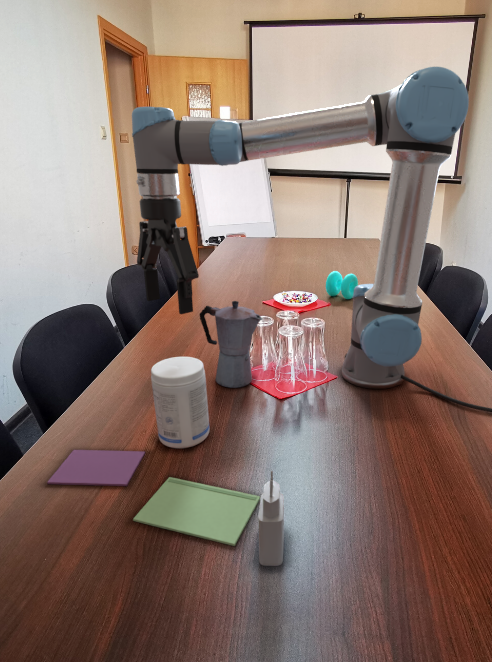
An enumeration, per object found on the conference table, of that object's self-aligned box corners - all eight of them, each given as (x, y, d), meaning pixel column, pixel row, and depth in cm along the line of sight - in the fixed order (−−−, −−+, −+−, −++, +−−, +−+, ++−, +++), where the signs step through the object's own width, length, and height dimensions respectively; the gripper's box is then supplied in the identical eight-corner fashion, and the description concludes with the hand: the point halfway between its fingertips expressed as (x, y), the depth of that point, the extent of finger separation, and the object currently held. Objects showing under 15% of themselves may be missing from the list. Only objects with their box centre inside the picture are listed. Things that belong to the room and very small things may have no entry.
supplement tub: (202, 418, 94) (197, 352, 89) (216, 442, 86) (211, 371, 81) (153, 429, 90) (146, 360, 85) (163, 456, 82) (155, 381, 77)
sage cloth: (260, 498, 72) (260, 495, 72) (234, 546, 63) (234, 543, 62) (169, 478, 76) (169, 476, 76) (133, 521, 67) (132, 518, 67)
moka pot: (257, 392, 105) (256, 308, 98) (194, 385, 108) (188, 304, 101) (268, 375, 114) (267, 297, 107) (209, 369, 116) (205, 293, 110)
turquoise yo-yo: (336, 292, 187) (337, 268, 184) (358, 296, 182) (360, 272, 179) (323, 298, 180) (324, 273, 176) (346, 302, 174) (347, 276, 171)
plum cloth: (145, 453, 82) (145, 451, 82) (126, 486, 74) (126, 484, 74) (73, 451, 83) (73, 449, 83) (47, 484, 74) (46, 482, 74)
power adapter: (258, 565, 60) (257, 489, 56) (261, 533, 65) (260, 462, 61) (282, 565, 60) (282, 490, 56) (283, 534, 65) (284, 462, 61)
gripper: (112, 194, 93) (124, 297, 100) (177, 202, 77) (186, 323, 84) (146, 193, 98) (155, 291, 105) (213, 200, 82) (219, 315, 89)
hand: (169, 306), depth 95 cm, fingers open, 12 cm apart
